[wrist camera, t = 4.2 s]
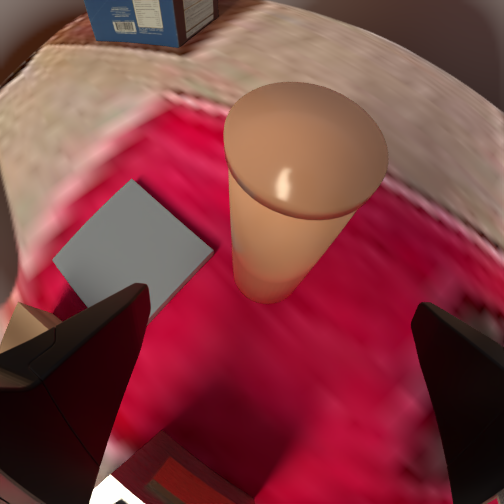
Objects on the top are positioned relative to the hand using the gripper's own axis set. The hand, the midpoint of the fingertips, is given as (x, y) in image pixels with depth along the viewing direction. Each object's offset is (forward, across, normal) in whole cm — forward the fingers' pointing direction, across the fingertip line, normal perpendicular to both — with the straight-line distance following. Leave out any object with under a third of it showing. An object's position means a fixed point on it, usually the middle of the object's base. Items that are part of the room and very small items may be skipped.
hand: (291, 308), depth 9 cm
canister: (+11, 0, +5) cm, 12 cm away
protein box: (+35, +17, -19) cm, 43 cm away
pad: (+11, +10, +5) cm, 15 cm away
